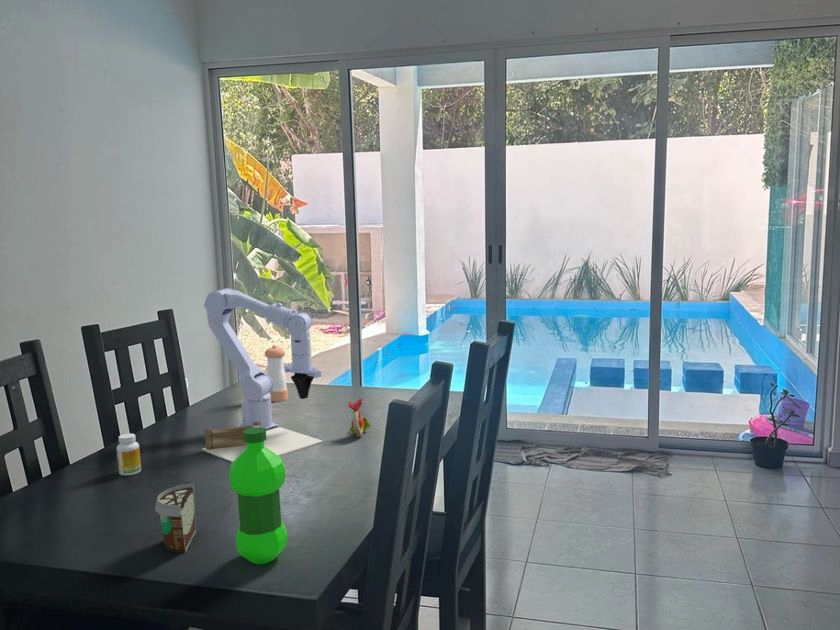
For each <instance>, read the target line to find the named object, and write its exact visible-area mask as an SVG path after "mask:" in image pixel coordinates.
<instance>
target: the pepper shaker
mask: <svg viewBox="0 0 840 630" xmlns="http://www.w3.org/2000/svg"><path fill="white" fill-rule="evenodd" d="M264 351H265V352H264V356H265V358H266V359H267V360H266V363H267V373H266V375H268V376H269V377H270V378H271V379H272V381H273V388H272V390H271V391H270V395H271V401H272V402H285V401H286V400H288V399H289V390H288V387H287V377H286V376H287V375H286V372H284V366H285V364H284V357H285V355H286V351H285V349H284V348H282V347H279V346H277V345H276V344H275V345H271V347H269V348H266V350H264ZM272 402H271V403H272Z"/></svg>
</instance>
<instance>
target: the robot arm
mask: <svg viewBox="0 0 840 630" xmlns="http://www.w3.org/2000/svg"><path fill="white" fill-rule="evenodd" d="M203 306H204V308H205V311H206V316H207V323H208V326H209V328H210V330H211V332H212V334H214V336H215V337H216V339H217V341H218V343H219V344H220V346H221V348H222V349H223V350H224V352H225V354H226V355H227V356H228V359H229V360H230V362H231V363H232V365H233V367H234V368H235V370H236V371H237V372H238V374H239V381H238V382H239V385H240V386H241V390H242V394H243V396H244V399H243V400H242V402H241V406H240V409H241V422H242V423H240V425H239V427H241V426H251V425H252V428H253V427H254V424H253V423H254V422H261V427H262V428H265V429H266V430H270V429H274V428H277V427H279V424H278V423H275V422H273V411H272V409H273V408H272V402H271V395H270V391H271V390H272V388H273V381H272V379H271V378H270V377H269V376H268V375H267V373H266V372H264V370H263V369H262V368H261V367H259V366H257V365H256V364H255V363H254V361H253V359H252V358H251V356H250V354H249V353H248V351H247V349H246V348H245V347H244V345H243V344H242V343H243V342H241V340H240V338H239V337H238V335H237V334H236V333H235V331H234V329H233V328H232V326H231V325H230V322H229V320H230V317H231V313H232V312H233V310H234V309H236V308H237V309H238V308H242V309H245V310H248V311H251V312H254V313H257V314H259V315H262V316H264V317H265V319H266V321H267V322H269V323H271V324H275V325H277V326H279V327H282V328H283V329H287V330H288V332H289V333H290V348H291V349H290V350H291V351H290V352H291V363H292V364H286V365H284V372H285V373H292V374H293V375H290V379H291V380H292V382H293V384H294V386H295V388H296V391H297V394H298V397H299V399H301V400H304V399H308V397H309V392H310V388H311V385H312V382H313V380H314V379H317V378H321V377H322V371H321V370H320V369H317V368H315V367H313V366H312V365H313V364H312V349H311V348H312V347H311V346H312V345H311V344H312V343H311V333H310V332H311V331H310V328H311V327H312V324H313V320H312V318H311V316H310V315H309V314H308V313H306V312H305V311H299V312H298V311H297V309H294V308H293V309H290V308H288V307H286V306H283V303H281V302H278V303H276V302H275V303H272V304H270V305H269V304H267V303H265V302H263V301H261V300H258V299H257V298H254V297H252V296H249V295H248V294H245V293H244V292H241V291H240V290H234V289H233V288H230V287H225V288H223V289H220V290H215V291H214V290H213V291H210V292H209V293H208V294H207V296H206V298H205V299H204V304H203Z"/></svg>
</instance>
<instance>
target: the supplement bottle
mask: <svg viewBox="0 0 840 630" xmlns="http://www.w3.org/2000/svg"><path fill="white" fill-rule="evenodd" d="M118 442H119V444H118V445H116V457H117V467H118V474H119V475H120V476H133V475H137V474H139V473H140V472H141V471H142V463H141V461H142V460H141V450H140V444H139V443H138V442H137V441H136V434H135V433H124V434H121V435H119V436H118Z"/></svg>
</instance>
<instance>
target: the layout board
mask: <svg viewBox="0 0 840 630" xmlns="http://www.w3.org/2000/svg"><path fill="white" fill-rule="evenodd" d="M322 443H324V440H321V439H318V438H316V437H312V436H309V435H307V434H303V433H300V432H297V431H294V430H290V429H287V428H284V427H280V426H278V427H274V428H271V429H267V430H266V440H265V441H264V447H266V448H267V449H269V450H271V451H272V452H274V453H275V454H276V455H278V456H279V457H282V456H284V455H287V454H290V453H294V452H298V451H300V450H304V449H306V448H309V447H313V446H315V445H319V444H322ZM201 449H202V451H203V450H204V451H203V452H205V451H206V452H205V453H209V454H210V453H211V455H213V456H215V457H218V458H220V459H222V458H223V460H225V461H227V460H228V461H227V462H231V463H232V462H233V461H234V460H235V459H236V458H237V457H238V456H239V455H240V454H241V453H242V452H243V451H245V450H246V449H247V445H241V446H232V447H223V448H215V449H210V450H207V449H206V447H204V448H201Z"/></svg>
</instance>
